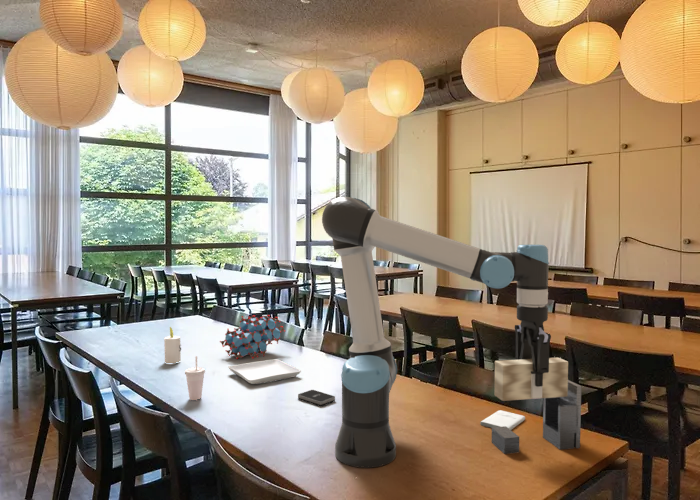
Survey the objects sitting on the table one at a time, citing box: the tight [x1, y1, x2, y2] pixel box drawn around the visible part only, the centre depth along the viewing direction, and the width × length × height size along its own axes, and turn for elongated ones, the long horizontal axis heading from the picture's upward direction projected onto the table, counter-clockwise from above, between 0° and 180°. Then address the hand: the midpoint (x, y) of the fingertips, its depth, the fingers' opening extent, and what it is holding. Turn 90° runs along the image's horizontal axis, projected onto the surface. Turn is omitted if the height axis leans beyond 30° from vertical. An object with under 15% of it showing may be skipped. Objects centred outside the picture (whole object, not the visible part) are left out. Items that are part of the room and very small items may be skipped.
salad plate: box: [228, 358, 302, 385], centre depth 196 cm, size 21×21×3 cm
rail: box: [494, 357, 569, 402], centre depth 133 cm, size 18×4×9 cm, turn 101°
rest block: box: [491, 426, 520, 455], centre depth 132 cm, size 4×7×4 cm, turn 11°
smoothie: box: [184, 355, 206, 401], centre depth 170 cm, size 6×6×14 cm
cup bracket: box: [542, 379, 582, 451], centre depth 135 cm, size 6×8×16 cm
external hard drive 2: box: [479, 409, 526, 431], centre depth 149 cm, size 2×8×12 cm
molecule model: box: [219, 314, 286, 360], centre depth 227 cm, size 16×14×25 cm
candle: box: [163, 326, 182, 363], centre depth 215 cm, size 6×6×15 cm
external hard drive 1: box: [297, 389, 336, 408], centre depth 168 cm, size 7×11×2 cm, turn 48°
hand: (531, 394), depth 133 cm, fingers closed on rail, 4 cm apart
